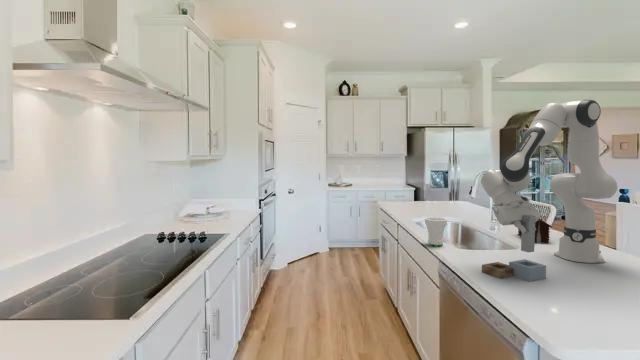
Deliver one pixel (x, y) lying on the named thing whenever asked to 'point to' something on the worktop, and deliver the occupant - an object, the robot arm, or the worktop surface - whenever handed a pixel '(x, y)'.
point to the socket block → (498, 270)
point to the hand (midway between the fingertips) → (529, 231)
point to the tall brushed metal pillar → (528, 233)
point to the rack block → (528, 270)
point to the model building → (540, 232)
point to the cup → (435, 230)
